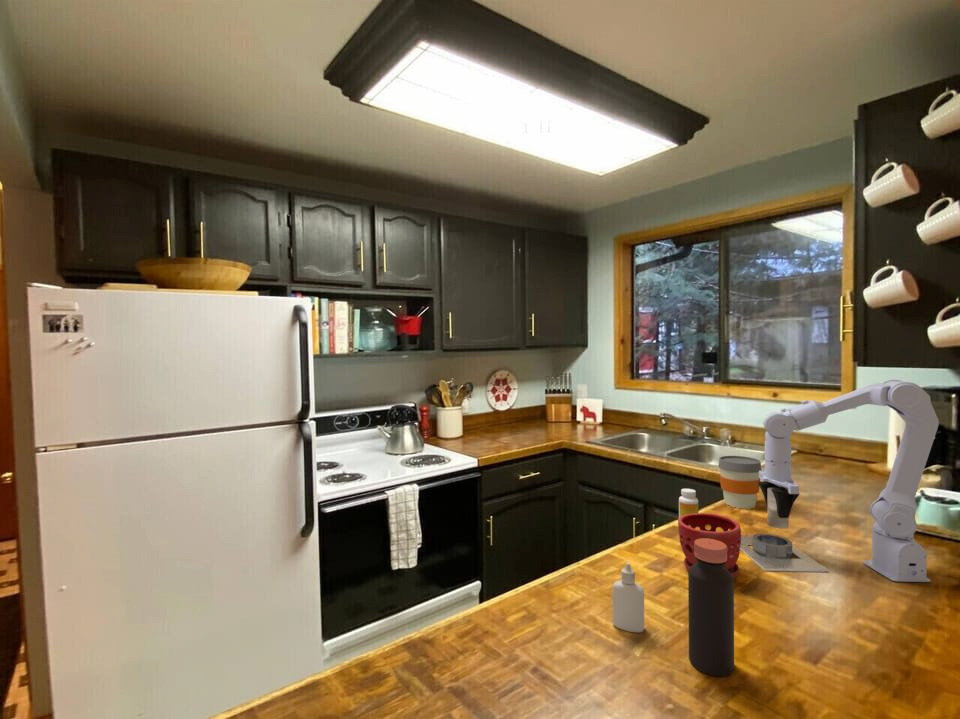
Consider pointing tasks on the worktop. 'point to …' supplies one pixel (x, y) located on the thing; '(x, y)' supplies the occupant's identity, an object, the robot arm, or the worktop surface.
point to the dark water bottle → (711, 609)
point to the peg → (775, 513)
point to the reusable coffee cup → (739, 480)
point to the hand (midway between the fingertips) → (777, 514)
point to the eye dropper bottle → (628, 602)
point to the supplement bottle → (688, 502)
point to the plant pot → (710, 536)
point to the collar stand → (777, 554)
